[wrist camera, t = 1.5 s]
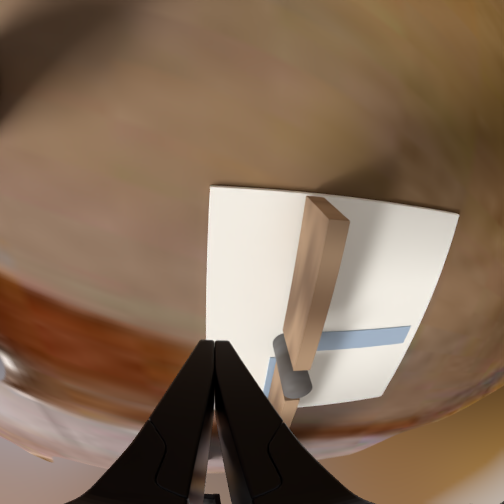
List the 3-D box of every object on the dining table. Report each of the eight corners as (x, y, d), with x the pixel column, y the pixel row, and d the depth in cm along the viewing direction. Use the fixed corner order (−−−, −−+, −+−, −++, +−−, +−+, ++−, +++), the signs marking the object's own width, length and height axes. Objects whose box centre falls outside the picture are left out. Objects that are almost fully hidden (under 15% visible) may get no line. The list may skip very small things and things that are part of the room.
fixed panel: (278, 405, 24) (287, 449, 20) (258, 406, 24) (265, 450, 20) (298, 328, 20) (315, 379, 16) (273, 329, 20) (285, 381, 16)
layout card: (379, 393, 26) (381, 396, 25) (207, 406, 24) (207, 410, 23) (455, 213, 18) (460, 215, 17) (210, 185, 16) (210, 187, 15)
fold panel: (297, 329, 19) (310, 369, 16) (282, 329, 19) (293, 370, 16) (323, 197, 16) (350, 221, 12) (306, 195, 15) (328, 219, 12)
